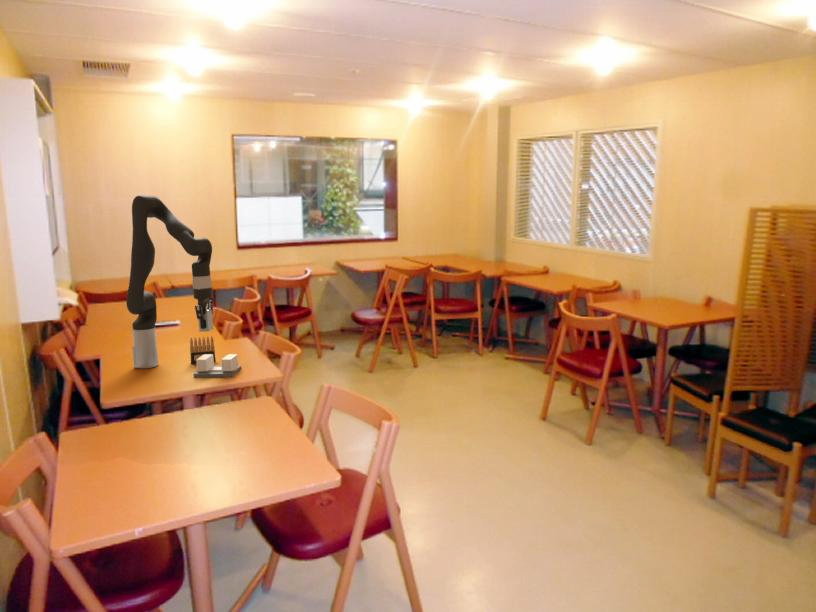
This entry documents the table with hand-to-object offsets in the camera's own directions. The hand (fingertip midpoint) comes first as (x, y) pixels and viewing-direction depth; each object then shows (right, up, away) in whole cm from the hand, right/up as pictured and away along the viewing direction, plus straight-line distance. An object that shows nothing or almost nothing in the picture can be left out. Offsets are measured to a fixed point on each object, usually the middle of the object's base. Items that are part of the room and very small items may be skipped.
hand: (206, 327), depth 252 cm
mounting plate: (+4, -20, +4) cm, 21 cm away
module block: (0, -1, 0) cm, 1 cm away
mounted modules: (+4, -18, +4) cm, 18 cm away
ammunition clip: (-9, -17, +22) cm, 29 cm away
